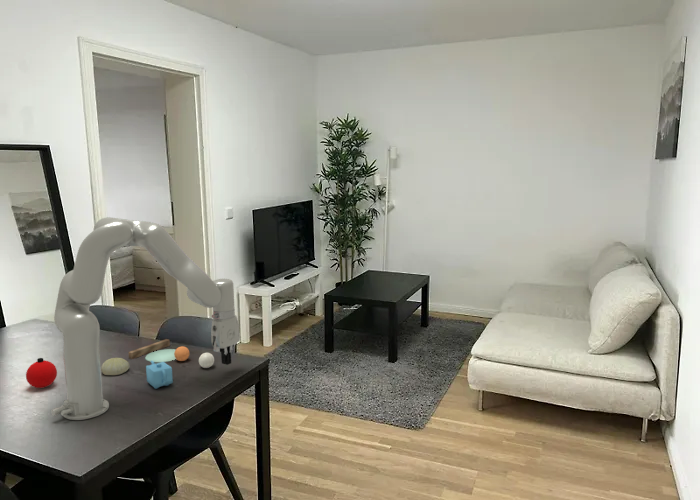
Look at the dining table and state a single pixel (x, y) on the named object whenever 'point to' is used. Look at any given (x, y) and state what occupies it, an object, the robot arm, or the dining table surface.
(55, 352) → the dining table surface
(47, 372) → the ornament
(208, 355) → the cue ball
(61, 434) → the dining table surface
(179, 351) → the orange ball
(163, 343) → the walnut rail
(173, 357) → the mint mark
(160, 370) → the blue fidget cube
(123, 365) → the sea urchin shell
